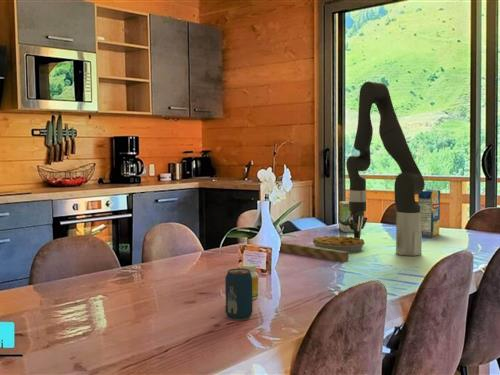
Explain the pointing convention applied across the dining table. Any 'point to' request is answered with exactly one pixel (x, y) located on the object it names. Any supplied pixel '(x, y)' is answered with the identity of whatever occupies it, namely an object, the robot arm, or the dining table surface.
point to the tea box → (344, 216)
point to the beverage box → (429, 212)
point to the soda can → (238, 294)
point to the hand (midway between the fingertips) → (357, 239)
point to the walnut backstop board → (314, 251)
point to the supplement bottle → (255, 278)
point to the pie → (339, 243)
